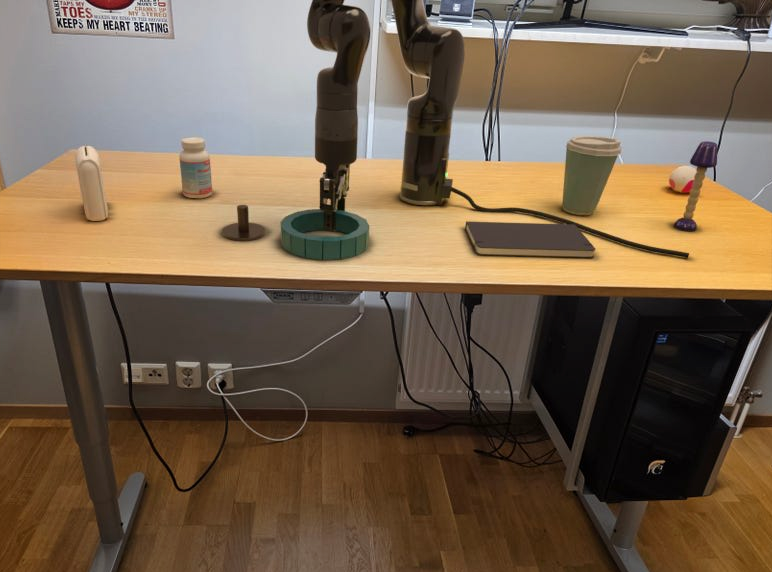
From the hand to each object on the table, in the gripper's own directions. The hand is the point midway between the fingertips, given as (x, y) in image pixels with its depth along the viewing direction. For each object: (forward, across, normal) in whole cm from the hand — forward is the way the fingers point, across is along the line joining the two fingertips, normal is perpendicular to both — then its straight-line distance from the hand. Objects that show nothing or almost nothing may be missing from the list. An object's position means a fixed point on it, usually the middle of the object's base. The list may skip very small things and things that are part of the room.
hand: (334, 223), depth 123 cm
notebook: (+1, +4, -36) cm, 36 cm away
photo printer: (+1, -5, +46) cm, 46 cm away
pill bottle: (+1, +11, +32) cm, 34 cm away
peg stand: (+1, -7, +16) cm, 17 cm away
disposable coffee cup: (+1, +26, -47) cm, 54 cm away
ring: (+1, -7, 0) cm, 7 cm away
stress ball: (+1, +47, -72) cm, 86 cm away
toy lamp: (+1, +22, -67) cm, 70 cm away
